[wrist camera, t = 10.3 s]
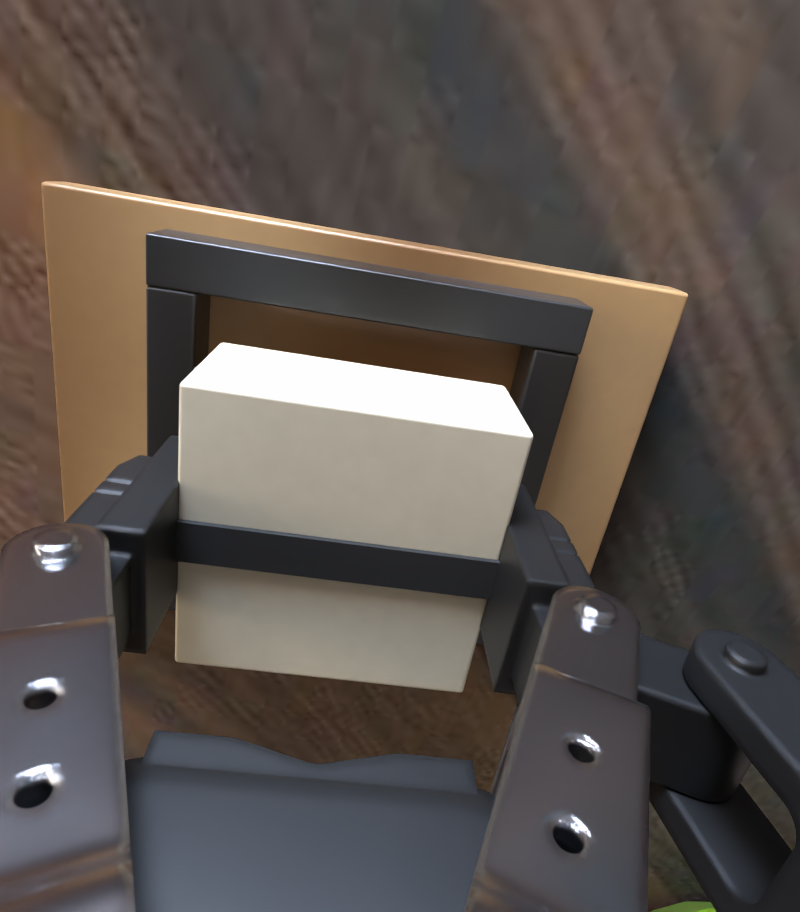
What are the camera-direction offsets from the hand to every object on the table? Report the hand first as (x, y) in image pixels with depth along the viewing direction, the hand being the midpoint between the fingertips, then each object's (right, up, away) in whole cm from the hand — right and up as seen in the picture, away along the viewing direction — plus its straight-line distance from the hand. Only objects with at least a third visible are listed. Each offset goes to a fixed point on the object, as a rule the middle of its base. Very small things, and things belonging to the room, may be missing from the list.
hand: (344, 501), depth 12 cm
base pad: (0, +1, +3) cm, 4 cm away
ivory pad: (0, 0, +1) cm, 0 cm away
